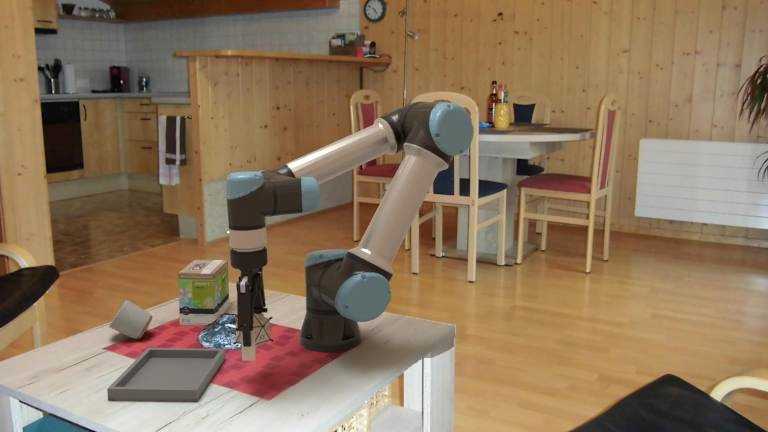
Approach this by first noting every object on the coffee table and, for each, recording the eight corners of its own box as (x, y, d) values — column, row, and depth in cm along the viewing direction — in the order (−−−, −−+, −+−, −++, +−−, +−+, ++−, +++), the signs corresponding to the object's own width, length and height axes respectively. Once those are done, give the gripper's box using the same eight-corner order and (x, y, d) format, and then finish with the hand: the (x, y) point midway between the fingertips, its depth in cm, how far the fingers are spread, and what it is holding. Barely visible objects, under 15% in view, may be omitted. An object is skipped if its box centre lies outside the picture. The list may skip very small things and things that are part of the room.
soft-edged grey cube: (136, 347, 171) (148, 327, 168) (105, 332, 169) (116, 312, 165) (150, 319, 180) (161, 300, 177) (120, 305, 178) (132, 285, 174)
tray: (225, 359, 159) (225, 349, 159) (197, 401, 138) (196, 390, 137) (148, 358, 160) (147, 347, 159) (108, 400, 138) (107, 388, 138)
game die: (239, 364, 141) (236, 317, 139) (228, 350, 148) (225, 305, 146) (281, 355, 145) (278, 310, 143) (268, 342, 152) (265, 299, 150)
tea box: (217, 327, 181) (214, 272, 178) (178, 327, 181) (175, 272, 178) (230, 309, 195) (228, 258, 193) (195, 309, 196) (192, 258, 193)
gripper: (242, 235, 152) (248, 332, 157) (216, 261, 131) (223, 372, 136) (276, 235, 152) (280, 332, 157) (255, 260, 131) (261, 371, 135)
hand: (254, 350), depth 146 cm, fingers closed on game die, 9 cm apart
